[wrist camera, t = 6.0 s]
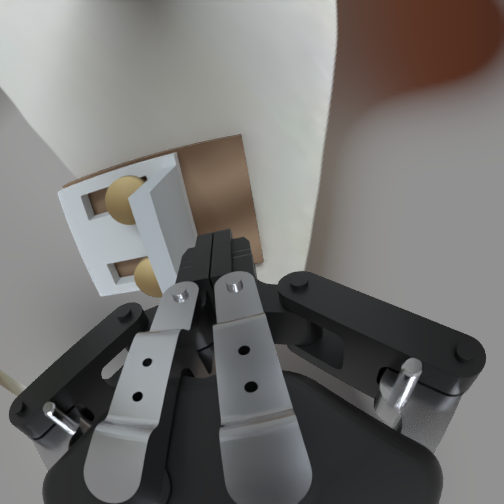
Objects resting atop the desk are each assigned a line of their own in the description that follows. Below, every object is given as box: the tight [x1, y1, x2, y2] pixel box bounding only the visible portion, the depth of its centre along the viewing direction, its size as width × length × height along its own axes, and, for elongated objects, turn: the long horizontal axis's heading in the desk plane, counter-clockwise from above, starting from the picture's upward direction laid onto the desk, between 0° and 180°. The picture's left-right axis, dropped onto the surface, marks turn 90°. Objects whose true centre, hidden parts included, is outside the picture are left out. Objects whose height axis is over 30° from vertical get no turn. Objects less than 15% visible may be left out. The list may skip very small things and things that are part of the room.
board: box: [63, 134, 263, 297], centre depth 21 cm, size 11×16×5 cm
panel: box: [57, 152, 198, 296], centre depth 18 cm, size 11×11×8 cm
